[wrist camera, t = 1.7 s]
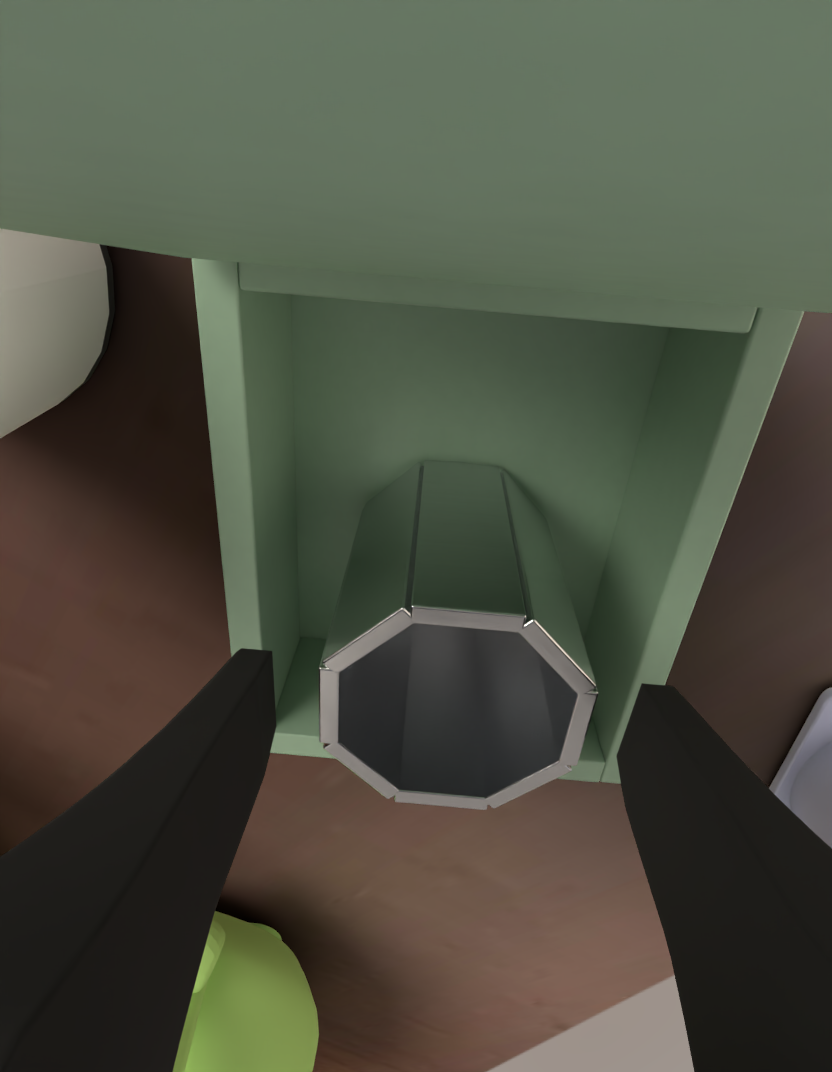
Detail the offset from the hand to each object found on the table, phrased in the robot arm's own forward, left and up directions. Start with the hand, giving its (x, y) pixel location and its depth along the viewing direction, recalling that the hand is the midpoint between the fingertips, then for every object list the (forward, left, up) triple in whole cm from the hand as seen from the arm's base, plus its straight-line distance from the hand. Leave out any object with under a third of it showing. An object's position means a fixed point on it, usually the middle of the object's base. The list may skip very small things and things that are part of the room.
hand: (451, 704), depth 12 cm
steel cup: (0, 0, -6) cm, 6 cm away
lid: (0, -8, +5) cm, 10 cm away
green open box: (0, -1, -7) cm, 7 cm away
